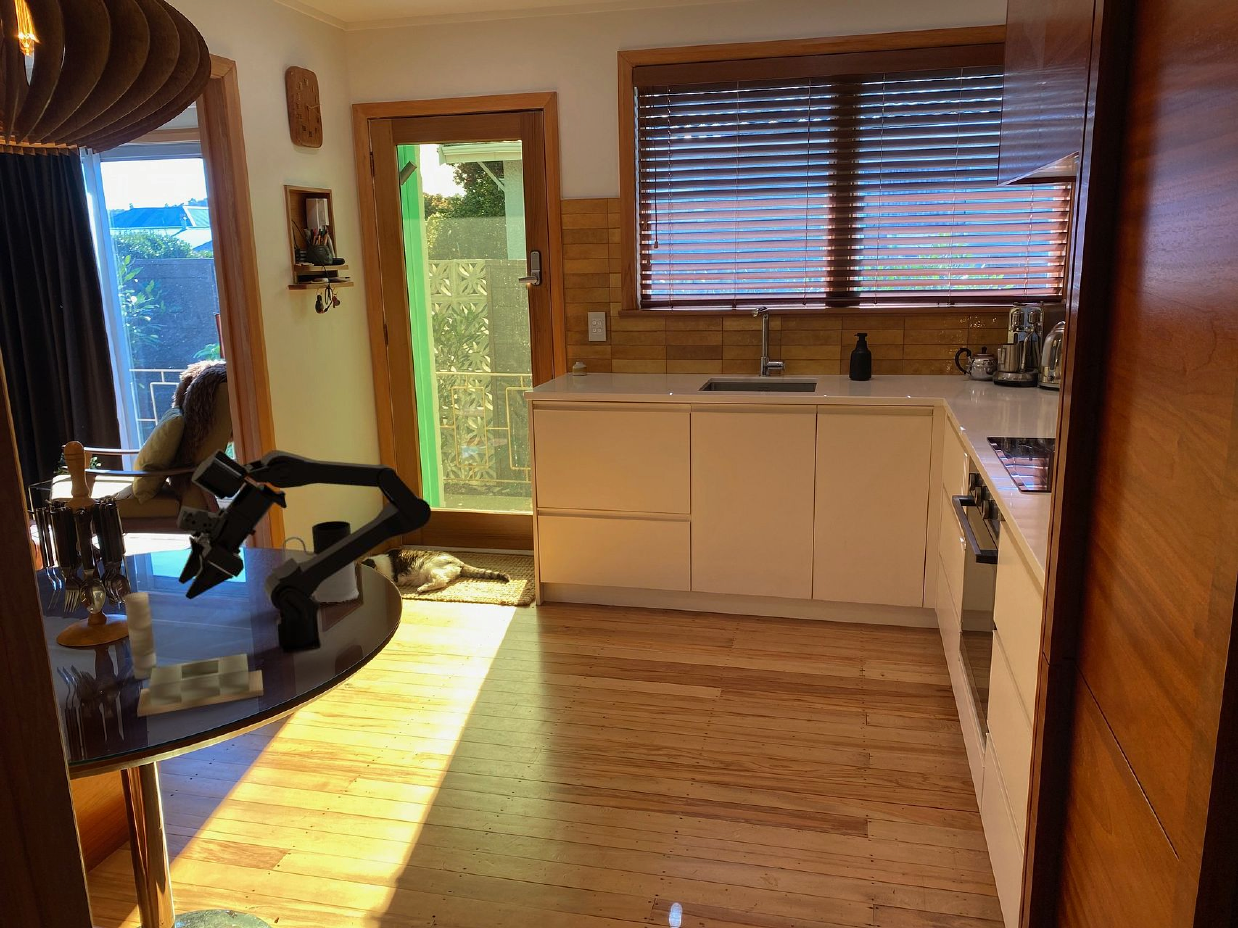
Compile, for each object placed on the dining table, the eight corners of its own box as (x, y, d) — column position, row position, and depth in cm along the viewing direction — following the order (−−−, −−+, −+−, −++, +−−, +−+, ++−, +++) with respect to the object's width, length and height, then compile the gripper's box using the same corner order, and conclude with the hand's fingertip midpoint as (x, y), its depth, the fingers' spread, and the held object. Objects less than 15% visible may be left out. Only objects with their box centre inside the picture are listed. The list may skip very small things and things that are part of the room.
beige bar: (158, 669, 161) (148, 590, 158) (157, 676, 158) (147, 597, 155) (135, 672, 160) (125, 593, 157) (133, 680, 156) (123, 600, 154)
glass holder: (362, 598, 194) (357, 528, 191) (290, 610, 188) (283, 537, 184) (354, 586, 201) (348, 518, 198) (284, 597, 195) (277, 527, 192)
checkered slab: (261, 675, 158) (259, 650, 157) (263, 695, 150) (260, 668, 149) (142, 695, 151) (138, 669, 150) (137, 716, 144) (134, 689, 143)
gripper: (194, 478, 165) (135, 551, 162) (211, 499, 150) (146, 580, 147) (248, 512, 171) (192, 583, 168) (269, 536, 155) (208, 615, 152)
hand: (184, 589), depth 159 cm, fingers open, 9 cm apart
